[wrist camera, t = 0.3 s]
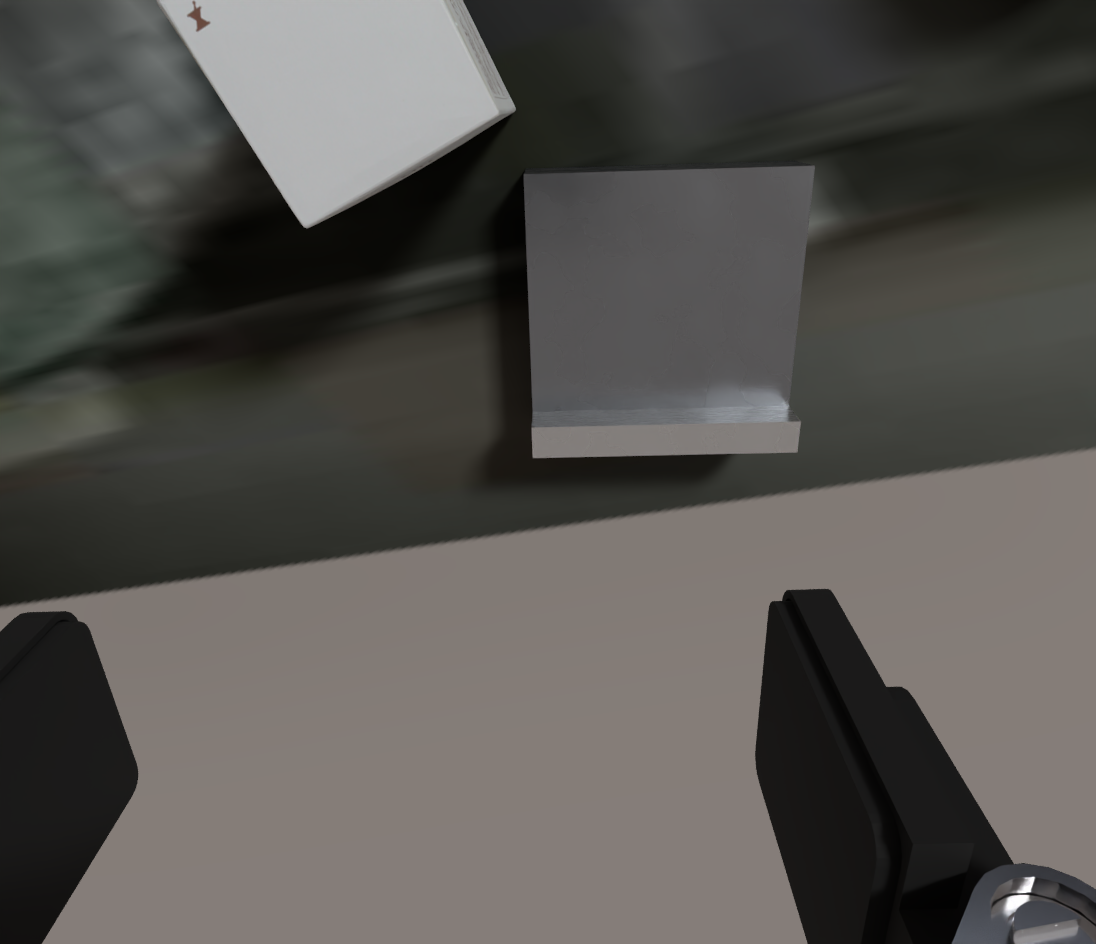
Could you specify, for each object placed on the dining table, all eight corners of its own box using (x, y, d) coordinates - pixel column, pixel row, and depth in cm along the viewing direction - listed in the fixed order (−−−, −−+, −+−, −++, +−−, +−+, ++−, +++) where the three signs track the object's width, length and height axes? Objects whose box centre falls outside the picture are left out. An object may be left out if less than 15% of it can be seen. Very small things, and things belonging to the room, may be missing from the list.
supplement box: (379, 194, 36) (296, 238, 24) (284, 29, 33) (141, -9, 22) (522, 113, 34) (505, 119, 23) (436, -67, 32) (367, -163, 20)
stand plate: (525, 168, 35) (521, 178, 31) (794, 160, 35) (830, 169, 30) (535, 418, 40) (532, 458, 36) (769, 412, 40) (797, 452, 36)
